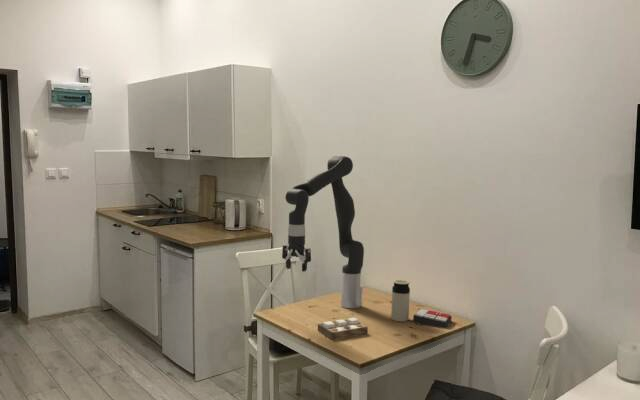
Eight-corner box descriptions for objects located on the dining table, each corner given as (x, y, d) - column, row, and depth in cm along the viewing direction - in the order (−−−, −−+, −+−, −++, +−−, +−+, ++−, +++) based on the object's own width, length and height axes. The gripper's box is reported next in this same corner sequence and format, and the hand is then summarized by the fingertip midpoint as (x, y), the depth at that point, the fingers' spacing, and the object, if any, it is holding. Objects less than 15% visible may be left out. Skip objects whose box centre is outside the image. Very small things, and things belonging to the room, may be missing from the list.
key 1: (330, 326, 229) (330, 321, 229) (334, 329, 226) (334, 323, 226) (322, 328, 227) (323, 322, 227) (327, 330, 224) (327, 324, 224)
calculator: (446, 320, 237) (413, 313, 244) (445, 330, 238) (412, 322, 244) (452, 314, 247) (420, 307, 253) (451, 323, 247) (419, 316, 254)
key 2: (353, 323, 235) (354, 317, 234) (358, 325, 232) (358, 319, 231) (346, 324, 233) (347, 318, 233) (351, 326, 230) (351, 321, 230)
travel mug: (408, 322, 243) (409, 284, 242) (390, 321, 245) (392, 282, 243) (408, 317, 251) (410, 279, 249) (391, 316, 253) (393, 278, 251)
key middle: (342, 324, 232) (342, 319, 232) (346, 327, 229) (346, 321, 228) (335, 326, 230) (335, 320, 230) (339, 328, 227) (339, 322, 227)
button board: (352, 325, 238) (352, 318, 237) (367, 333, 227) (367, 326, 227) (317, 330, 229) (317, 323, 229) (331, 340, 219) (331, 332, 218)
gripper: (314, 234, 236) (314, 270, 238) (289, 231, 244) (288, 266, 246) (304, 236, 230) (304, 273, 232) (278, 233, 238) (278, 269, 240)
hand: (296, 269), depth 239 cm, fingers open, 8 cm apart
